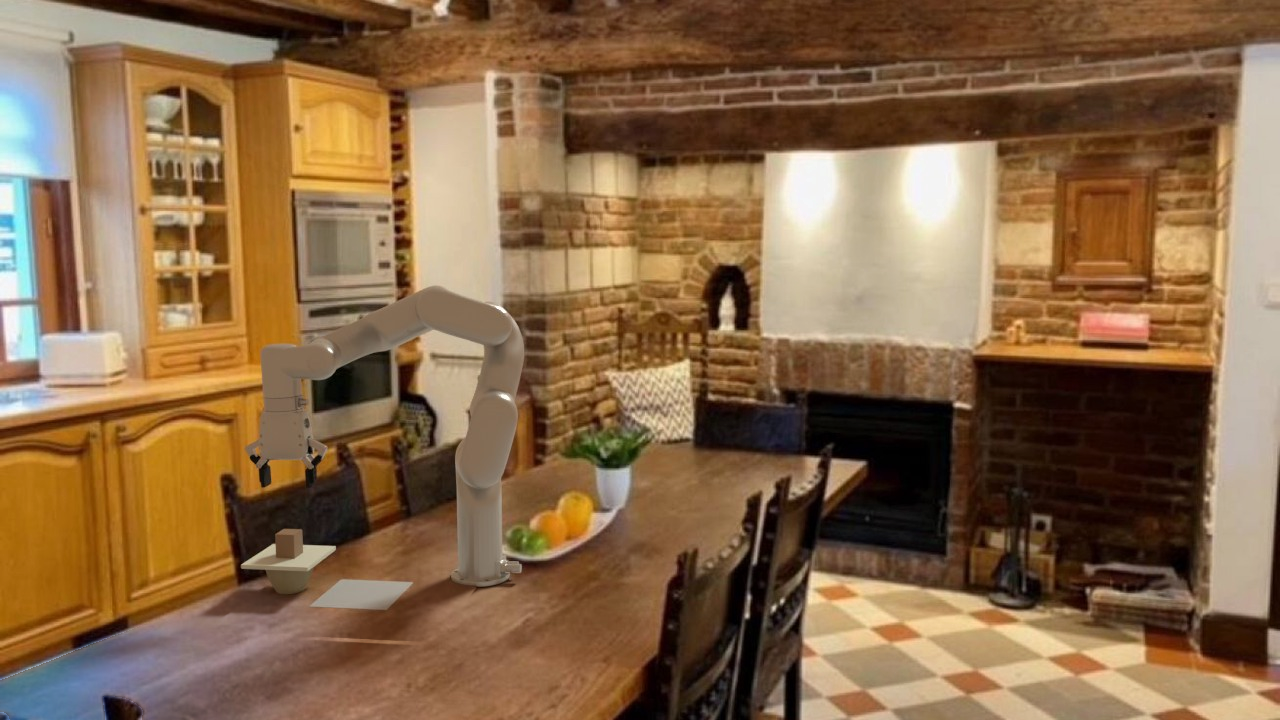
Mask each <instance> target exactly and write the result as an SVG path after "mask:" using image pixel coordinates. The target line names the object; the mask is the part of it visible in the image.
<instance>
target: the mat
mask: <svg viewBox="0 0 1280 720" xmlns="http://www.w3.org/2000/svg"><path fill="white" fill-rule="evenodd" d="M413 584H414V582H413V581H393V580H392V581H391V580H369V579H368V580H367V579H345V578H343V579H340V580H339V581H337V582H336V583H335V584H333V585H332V587H331V588H329V589H328V590H326V591H325V592H324V593H323V594H322V595H321V596H320V597H318V598H317V599H316V600H315V601H314V602H312V603H311V604H310V605H308V606H309V608H331V609H332V608H333V609H349V610H350V609H351V610H352V609H354V610H373V611H375V610H376V611H378V610H379V611H387V610H388V609H389V608H390V607H392V605H393V604H394V603H395V602H396V601H397V600H398V599H400V597H401V596H402V595H403V594H405V592H406V591H407V590H408V589H409V587H411V586H412V585H413Z"/></svg>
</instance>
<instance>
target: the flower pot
mask: <svg viewBox="0 0 1280 720" xmlns="http://www.w3.org/2000/svg"><path fill="white" fill-rule="evenodd" d="M313 571H314V567H313V568H311V569H310V570H309V571H286V570H265V572H266V576H267V578H268V580H269V582H270V583H271V586H272V587H273V589H274V591H275V592H276V593H277V594H280V595H293V594H297V593H301V592H303V591H304V590H305V589H306V587H307V585H308V583H309V582H310V579H311V577H312V574H313Z"/></svg>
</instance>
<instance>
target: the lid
mask: <svg viewBox="0 0 1280 720" xmlns="http://www.w3.org/2000/svg"><path fill="white" fill-rule="evenodd" d="M274 537H275V538H274V539H275V541H274V543H271V545H269V546H268V547H266V548H265V549H263V550H262V551H260V552H259V553H257V554H255V555H254V556H252V557H251V558H249V559H248V560H246V561H244V562H243V563H242V564H240V568H241V569H242V570H262V571H263V570H265V571H266V570H286V571H309V570H310V569H311V568H313V569H314V567H316V566H317V565H318V564H319V563H321V562H323V560H324V559H326V558H327V557H329V556H330V555H331V554H332V553H334V552H335V551H336V550H337V546H336V545H315V544H314V545H313V544H304V542H303V540H304V539H303V529H302V528H298V529H297V528H283V529H281V530H280V531H278V532H277V533H275V534H274Z"/></svg>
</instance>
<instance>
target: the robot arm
mask: <svg viewBox="0 0 1280 720" xmlns="http://www.w3.org/2000/svg"><path fill="white" fill-rule="evenodd" d="M431 331H438V332H439V333H443V334H446V335H448V336H452V337H456V338H458V339H459V338H460V339H462V340H465V341H470V342H472V343H476V344H479V345H482V346H483V360H482V364H481V367H480V368H481V369H480V373H479V377H478V380H477V384H476V387H475V390H474V393H473V396H472V398H471V402H470V406H469V415H470V419H469V424H468V428H467V432H466V436H465V437H464V438H462V440H461V441H460V443H459V444H458V446H457V447H456V451H455V456H454V462H455V463H454V464H455V480H456V518H457V519H456V520H457V521H456V523H457V526H456V529H457V565H458V567H457V568H455V569H454V570H453V571H452V572H451V573H450V577H451V580H452V582H454V583H457V584H460V585H464V586H465V585H466V586H476V588H481V587H482V588H483V587H484V588H485V587H490V586H495V585H496V586H497V585H499V584H502V583H504V582H506V581H508V579H509V578H510V577H511V576H510V573H513V574H521V573H522V571H523V570H522V569H523V568H522V567H523V566H522V565H523V564H522V563H520V562H519V561H513V560H512V561H509V559H507V554H506V553H505V554H503V515H502V514H503V513H502V512H503V511H502V509H503V508H502V507H503V505H502V504H503V501H502V500H503V499H502V498H503V497H502V495H503V494H502V477H503V475H504V473H505V469H506V466H507V463H508V459H509V456H510V452H511V448H512V445H513V442H514V438H515V435H516V434H515V433H516V431H517V426H518V419H519V411H518V407H517V404H516V397H517V393H518V388H519V384H520V381H521V376H522V375H521V374H522V372H523V366H524V361H525V344H524V343H525V342H524V338H523V335H522V332H521V330H520V327H519V325H518V324H517V322H516V320H515V319H514V318H513V317H512V315H511V314H510V313H509V312H508V311H507V310H506V309H505V308H504V307H503V306H502V305H500V304H498V303H497V302H493V301H482V300H478V299H475V298H472V297H469V296H465V295H462V294H458V293H456V292H455V291H454V292H453V291H452V290H449V289H448V288H446V287H444V286H441V285H431V286H427V287H425V288H423V289H421V290H419V291H416V292H413V293H412V294H410V295H408V296H407V295H406V297H403V298H400V299H398V300H397V301H394V302H393V303H390V304H388V305H386V306H384V307H381V308H379V309H377V310H375V311H373V312H371V313H369V314H367V315H365V316H363V317H361V318H360V319H357V320H356V321H354V322H353V321H352V322H351V323H349V324H347V325H344V326H341V327H340V328H337V329H335V330H334V331H332V332H328V333H327V334H325V335H322V336H320V337H318V338H316V339H314V340H313V341H311V342H309V343H308V344H306V345H305V344H304V345H298V346H297V345H296V344H294V343H284V342H283V343H272V344H267V345H264V346H263V347H262V348H261V349H260V353H259V354H260V369H261V385H262V397H263V399H262V400H263V401H262V402H263V410H262V411H261V414H260V418H259V429H258V439H257V440H256V441H253V442H251V443H250V444H248V445H245V447H244V450H245V452H246V453H247V456H248V457H249V460H250V461H251V462H252V463H253V464H254V466H255V467H256V469H258V476H259V477H258V480H259V483H260V487H261V488H267V487H268V486H271V485H272V471H271V469H272V468H271V465H270V464H269V462H270V461H301V462H302V463H303V465H305V466H306V467H307V468H306V469H305V471H304V474H305V487H306V488H307V489H311V488H312V487H314V486H316V483H317V482H318V475H317V474H318V470H317V466H319V464H320V463H321V462H323V460H324V458H325V456H326V454H327V452H328V448H329V447H328V446H327V445H326V444H324V443H322V442H320V441H319V440H316V439H314V433H313V427H312V422H311V417H310V415H309V414H310V413H309V411H308V409H306V408H305V406H309V405H310V401H309V399H308V398H305V397H304V395H303V385H302V384H303V383H302V380H311V381H312V380H313V381H321V380H322V381H323V380H326V379H328V378H330V377H332V376H333V374H335V372H336V370H337V369H339V368H341V367H343V366H345V365H347V364H349V363H351V362H353V361H356V360H358V359H360V358H364V357H365V356H369V355H370V354H373V353H374V354H375V353H379V352H387V351H390V350H392V349H396V348H397V347H400V346H401V345H404V344H406V343H408V342H410V341H412V340H414V339H416V338H418V337H421V336H422V335H425V334H427V333H430V332H431ZM256 448H258V449H259V454H258V453H257V451H256ZM315 449H316V450H317V453H316V455H315V456H314V453H315Z"/></svg>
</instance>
